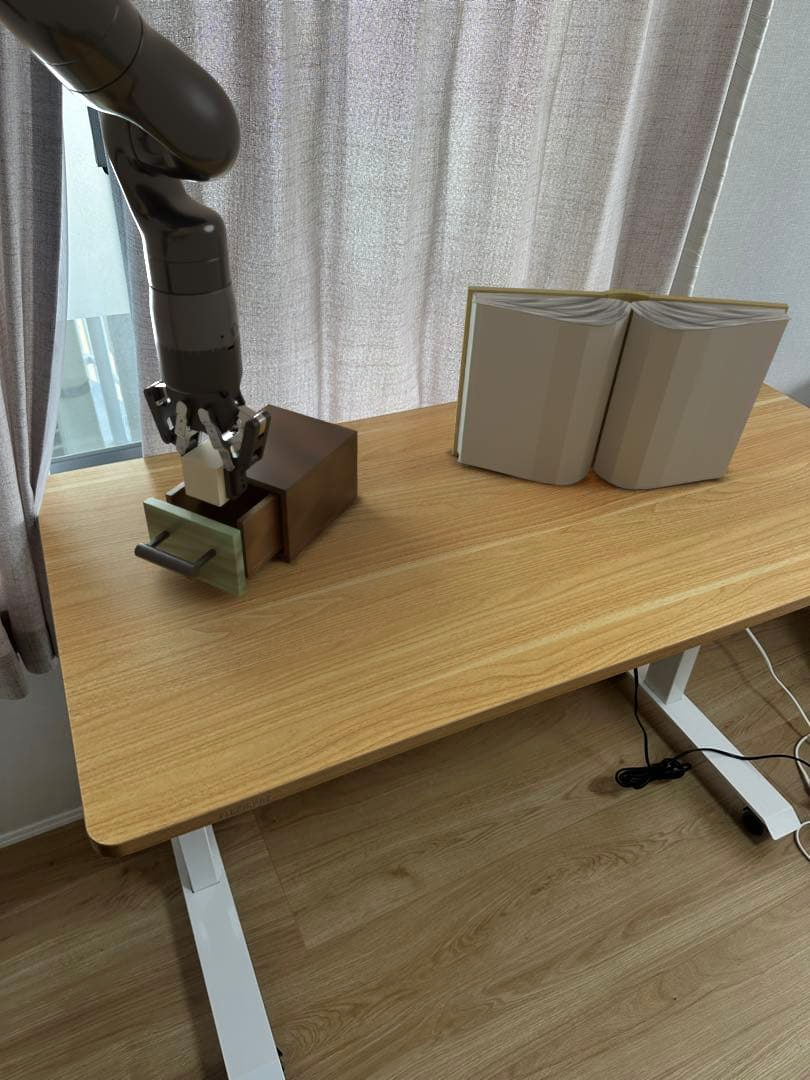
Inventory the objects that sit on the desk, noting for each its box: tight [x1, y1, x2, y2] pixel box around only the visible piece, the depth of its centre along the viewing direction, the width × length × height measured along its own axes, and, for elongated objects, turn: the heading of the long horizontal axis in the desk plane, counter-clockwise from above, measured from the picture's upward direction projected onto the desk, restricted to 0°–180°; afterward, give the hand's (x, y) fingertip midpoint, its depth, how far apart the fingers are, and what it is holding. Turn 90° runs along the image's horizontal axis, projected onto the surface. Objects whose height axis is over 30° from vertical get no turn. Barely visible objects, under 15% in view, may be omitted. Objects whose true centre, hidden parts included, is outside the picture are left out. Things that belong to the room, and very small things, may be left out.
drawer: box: [133, 480, 284, 598], centre depth 86 cm, size 18×11×8 cm, turn 152°
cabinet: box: [222, 403, 359, 563], centre depth 94 cm, size 15×13×10 cm
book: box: [451, 285, 793, 491], centre depth 98 cm, size 36×8×24 cm, turn 87°
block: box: [180, 438, 235, 507], centre depth 82 cm, size 4×4×4 cm
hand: (216, 488), depth 83 cm, fingers closed on block, 4 cm apart
